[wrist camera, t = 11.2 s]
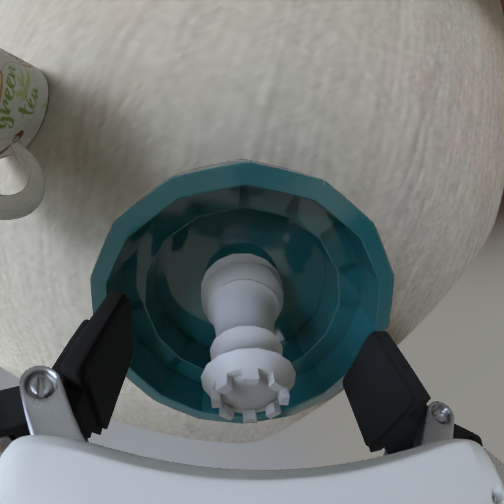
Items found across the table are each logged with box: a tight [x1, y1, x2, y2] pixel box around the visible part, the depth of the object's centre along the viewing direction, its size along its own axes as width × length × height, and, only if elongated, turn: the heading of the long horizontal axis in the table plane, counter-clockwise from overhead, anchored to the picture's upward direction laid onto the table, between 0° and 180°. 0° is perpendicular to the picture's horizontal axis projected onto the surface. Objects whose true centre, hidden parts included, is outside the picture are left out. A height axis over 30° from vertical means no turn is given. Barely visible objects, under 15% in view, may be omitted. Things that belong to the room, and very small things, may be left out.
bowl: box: [90, 159, 394, 423], centre depth 13 cm, size 14×14×5 cm
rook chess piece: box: [201, 254, 296, 423], centre depth 11 cm, size 4×4×8 cm
